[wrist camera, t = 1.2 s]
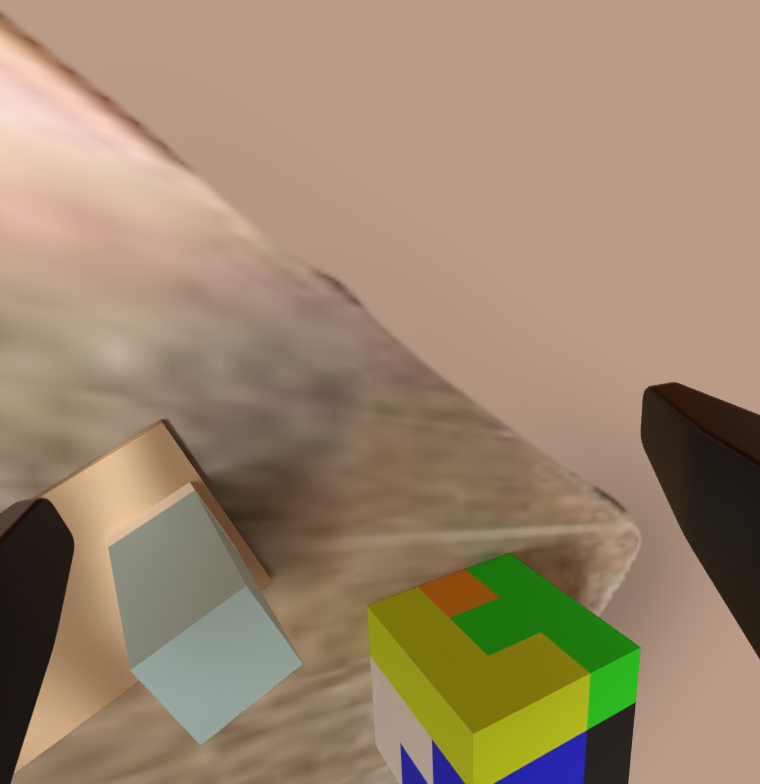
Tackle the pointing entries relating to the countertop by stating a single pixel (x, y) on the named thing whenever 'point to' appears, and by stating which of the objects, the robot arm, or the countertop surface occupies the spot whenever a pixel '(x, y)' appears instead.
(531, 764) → the puzzle toy
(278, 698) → the countertop surface
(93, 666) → the mat
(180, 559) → the pillar
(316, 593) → the countertop surface
